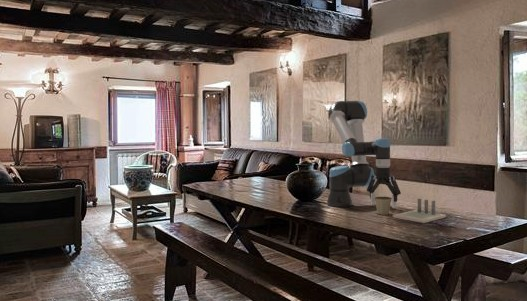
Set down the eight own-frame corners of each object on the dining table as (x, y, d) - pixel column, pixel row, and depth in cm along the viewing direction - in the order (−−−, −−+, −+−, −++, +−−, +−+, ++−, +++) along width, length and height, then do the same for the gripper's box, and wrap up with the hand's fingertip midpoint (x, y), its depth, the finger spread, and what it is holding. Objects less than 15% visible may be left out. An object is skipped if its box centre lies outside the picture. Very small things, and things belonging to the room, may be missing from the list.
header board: (392, 217, 224) (392, 201, 224) (414, 212, 236) (414, 197, 236) (424, 222, 210) (424, 206, 209) (446, 217, 222) (446, 201, 222)
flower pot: (379, 216, 228) (379, 199, 227) (370, 212, 237) (370, 197, 236) (395, 214, 230) (395, 198, 230) (386, 211, 239) (386, 196, 239)
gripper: (360, 166, 240) (360, 204, 241) (398, 168, 220) (399, 209, 221) (368, 165, 244) (369, 202, 245) (407, 167, 225) (407, 208, 225)
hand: (383, 206), depth 233 cm, fingers open, 13 cm apart
